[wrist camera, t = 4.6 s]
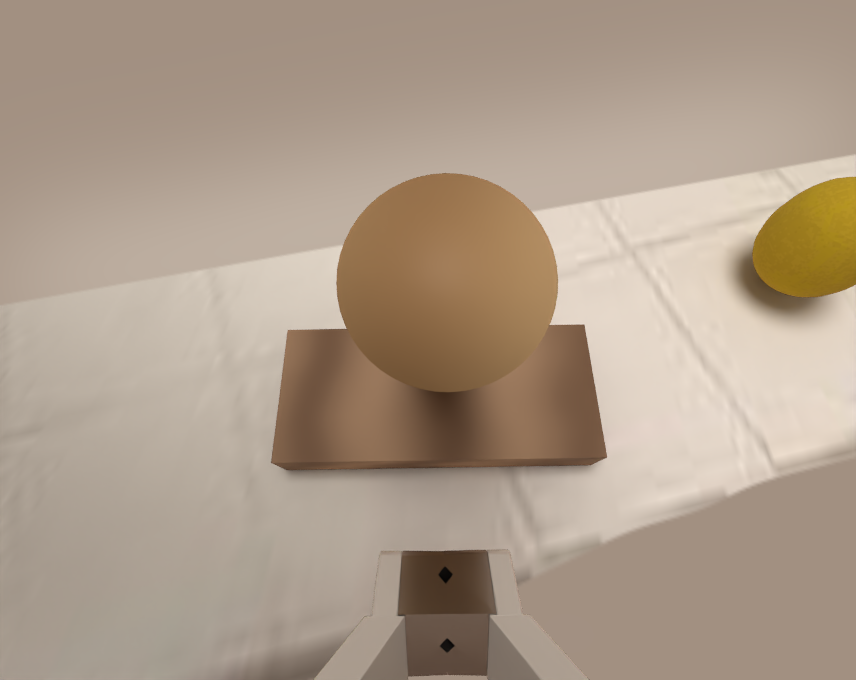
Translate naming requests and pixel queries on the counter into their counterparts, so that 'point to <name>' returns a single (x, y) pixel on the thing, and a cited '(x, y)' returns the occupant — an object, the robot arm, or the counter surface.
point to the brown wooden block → (434, 410)
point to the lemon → (810, 242)
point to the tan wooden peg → (447, 282)
